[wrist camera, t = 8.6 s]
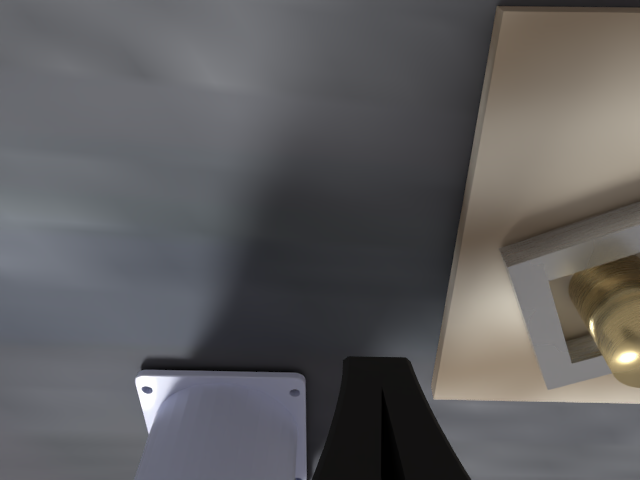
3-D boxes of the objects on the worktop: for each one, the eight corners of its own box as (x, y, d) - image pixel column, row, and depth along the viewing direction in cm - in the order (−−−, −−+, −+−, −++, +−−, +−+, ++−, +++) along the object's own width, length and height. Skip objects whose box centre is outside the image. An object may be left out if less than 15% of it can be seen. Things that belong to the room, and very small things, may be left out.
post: (633, 312, 22) (686, 389, 19) (560, 311, 22) (599, 387, 19) (659, 252, 21) (722, 324, 17) (580, 251, 21) (626, 322, 17)
